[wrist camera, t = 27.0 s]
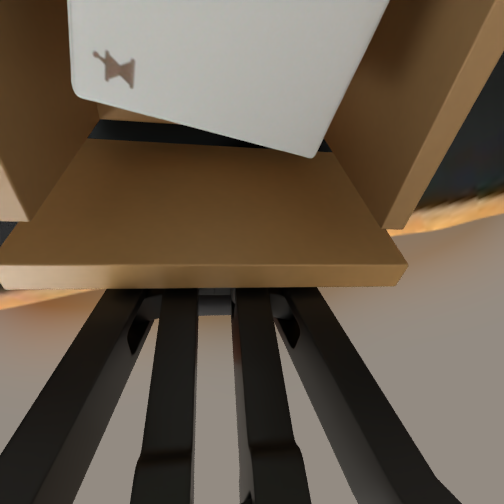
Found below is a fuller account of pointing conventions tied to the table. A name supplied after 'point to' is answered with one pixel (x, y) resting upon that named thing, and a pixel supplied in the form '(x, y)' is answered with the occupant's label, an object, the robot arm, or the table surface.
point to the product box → (224, 62)
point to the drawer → (230, 168)
